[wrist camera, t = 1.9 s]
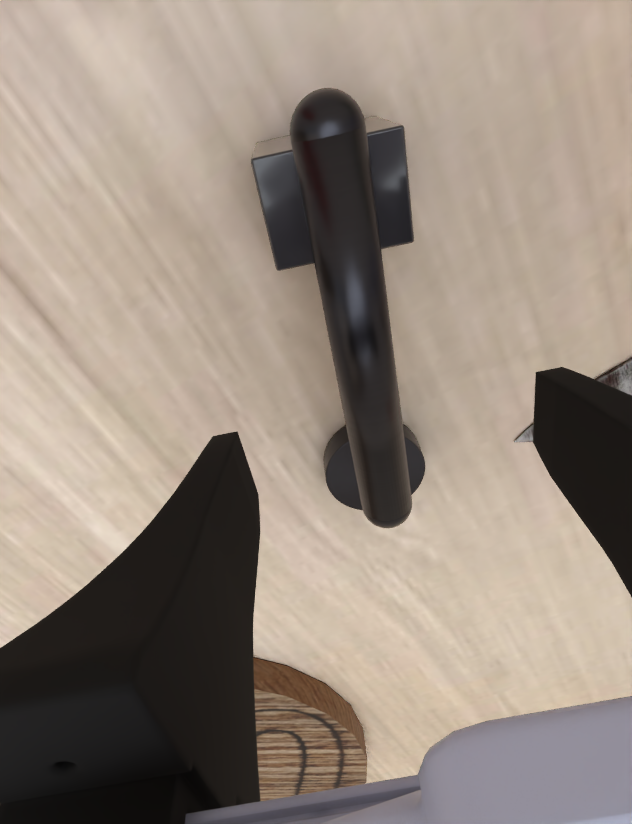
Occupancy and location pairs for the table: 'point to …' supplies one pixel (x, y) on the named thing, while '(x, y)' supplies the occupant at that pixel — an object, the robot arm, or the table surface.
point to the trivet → (304, 734)
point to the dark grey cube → (285, 198)
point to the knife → (623, 378)
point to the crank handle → (354, 310)
